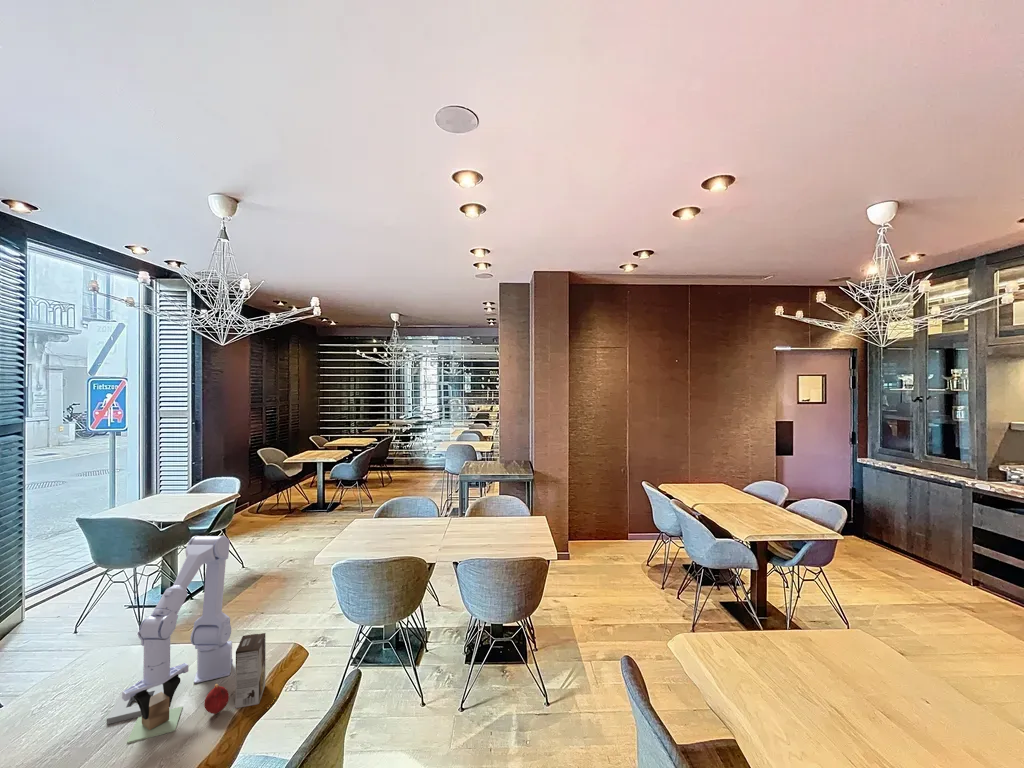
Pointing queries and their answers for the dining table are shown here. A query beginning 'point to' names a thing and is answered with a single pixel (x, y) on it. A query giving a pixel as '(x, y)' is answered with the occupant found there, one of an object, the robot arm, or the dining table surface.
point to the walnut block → (157, 711)
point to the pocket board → (124, 711)
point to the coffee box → (250, 670)
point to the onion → (216, 699)
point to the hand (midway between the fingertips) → (156, 711)
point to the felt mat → (166, 727)
